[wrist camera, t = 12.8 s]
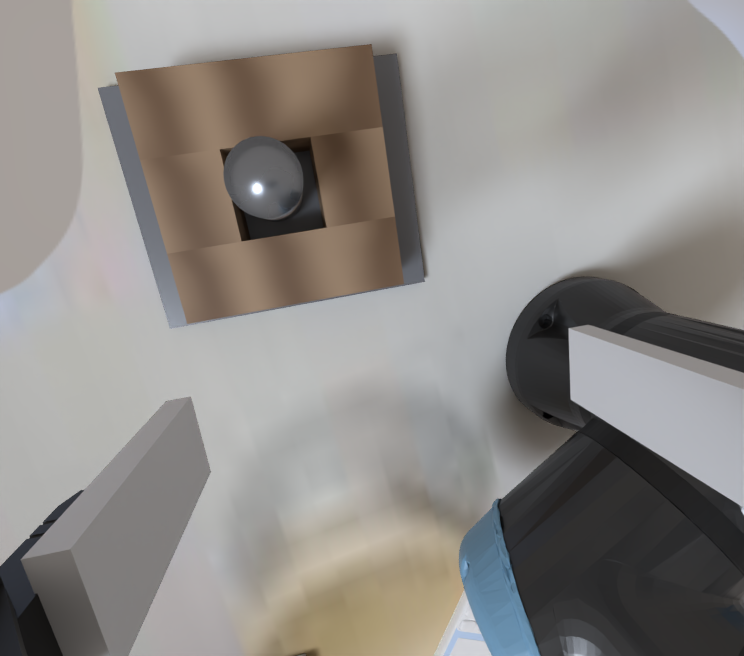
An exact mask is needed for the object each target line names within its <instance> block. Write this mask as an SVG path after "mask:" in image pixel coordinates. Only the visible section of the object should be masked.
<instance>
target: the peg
mask: <svg viewBox="0 0 744 656" xmlns="http://www.w3.org/2000/svg"><path fill="white" fill-rule="evenodd" d="M223 175H224V183H225V187H226V190H227V192H228V194H229V196H230V197H231V199H232V200H233V202H234V203H235V204H236V205H237V206H238V207H239V208H240V209H242V210H243V211H244V212H246V213H248V214H250V215H252V216H256V217H259V218H263V219H268V220H272V221H285V220H288V219H290V218H292V217H293V216H294V215H295V214H296V213H297V212H298V210H299V209H300V206H301V203H302V195H303V172H302V168H301V165H300V163H299V161H298V159H297V157H296V156H295V154H294V153H293V152H292V150H291V149H290V148H289V147H287V146H286V145H285V144H284V143H282V142H280V141H278V140H276V139H274V138H271V137H266V136H254V137H249V138H247V139H244V140H242V141H241V142H239V143H238V144H237V145H235V146H234V147H233V148H232V150H231V151H230V152H229V154H228V156H227V158H226V161H225V165H224V172H223Z"/></svg>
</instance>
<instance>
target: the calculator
mask: <svg viewBox="0 0 744 656" xmlns="http://www.w3.org/2000/svg"><path fill="white" fill-rule="evenodd" d="M434 656H492V655H491V653H490V651H489V649H488V647H487V645H486V643H485V641H484V638H483V636H482V634H481V632H480V630H479V627H478V625H477V623H476V620H475V618H474V616H473V613H472V610H471V608H470V605H469V602H468V599H467V596H466V593H465V590H464V592H463V594H462V596H461V598H460V600H459V602H458V604H457V606H456V609H455V611H454V613H453V615H452V617H451V619H450V621H449V624H448V626H447V628H446V630H445V632H444V634H443V636H442V639H441V641H440V643H439V645H438V647H437V649H436V651H435V653H434Z"/></svg>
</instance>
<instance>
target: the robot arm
mask: <svg viewBox="0 0 744 656" xmlns="http://www.w3.org/2000/svg"><path fill="white" fill-rule="evenodd" d="M506 369H507V375H508V379H509V382H510V385H511V387H512V389H513V391H514V393H515V395H516V396H517V397H518V399H519V400H520V401H521V402H522V403H523V404H524V405H525V406H526V407H527V408H529V409H530V410H531V411H532V412H534V413H535V414H536V415H537V416H539V417H540V418H542V419H543V420H545V421H547V422H549V423H551V424H554V425H557V426H561V427H564V428H568V429H572V430H576V431H578V432H576V433H575V434H574V435H573V436H572V437H571V438H570V439H569V440H567V441H566V442H565V443H564V444H563V445H562V446H561V447H560V448H559V449H557V450H556V451H555V452H554V453H553V454H552V455H551V456H550V457H548V458H547V459H546V460H545V461H544V462H543V463H542V464H541V465H540V466H538V467H537V468H536V469H535V470H534V471H533V472H532V473H531V474H529V475H528V476H527V477H526V478H525V479H524V480H523V481H522V482H521V483H519V484H518V485H517V486H516V487H515V488H514V489H513V490H512V491H510V492H509V493H508V494H507V495H506V496H505V497H504V498H503V499H496V500H495V501H494V503H493V505H492V508H491V509H490V510H489V511H488V512H487V513H486V514H485V515H484V516H483V517H482V518H481V519H480V520H479V521H478V522H477V523H476V524H475V525H474V526H473V527H472V528H471V529H470V530H469V531H468V533H467V534H466V535H465V536H464V538H463V540H462V543H461V546H460V550H459V567H460V574H461V578H462V582H463V585H464V590H465V593H466V596H467V599H468V602H469V605H470V608H471V610H472V613H473V616H474V618H475V620H476V623H477V625H478V627H479V630H480V632H481V634H482V636H483V638H484V641H485V643H486V645H487V647H488V649H489V651H490V653H491V655H492V656H744V330H741V329H736V328H732V327H728V326H723V325H719V324H714V323H710V322H706V321H701V320H697V319H692V318H688V317H683V316H678V315H674V314H670V313H666V312H665V311H664V310H662V309H661V308H659V307H658V306H656V305H655V304H654V303H652V302H651V301H649V300H648V299H646V298H644V297H643V296H641V295H640V294H639V293H638V292H636V291H635V290H634V289H632V288H630V287H629V286H627V285H624V284H622V283H619V282H616V281H612V280H607V279H601V278H595V277H577V278H571V279H567V280H564V281H561V282H559V283H557V284H555V285H552V286H551V287H549V288H547V289H546V290H544V291H543V292H542V293H540V294H539V295H538V296H537V297H535V298H534V299H533V300H532V301H531V302H530V303H529V304H528V306H527V307H526V308H525V309H524V310H523V312H522V313H521V315H520V316H519V318H518V320H517V321H516V323H515V325H514V327H513V330H512V332H511V335H510V338H509V341H508V346H507V352H506ZM210 472H211V471H210V467H209V463H208V459H207V456H206V452H205V448H204V444H203V441H202V437H201V433H200V429H199V425H198V422H197V418H196V414H195V410H194V407H193V403H192V399H191V397H186V398H181V399H175V400H170V401H166V402H165V403H164V404H163V405H162V406H161V407H160V409H159V410H158V411H157V412H156V413H155V414H154V415H153V416H152V417H151V418H150V419H149V421H148V422H147V423H146V424H145V425H144V426H143V427H142V428H141V429H140V430H139V431H138V432H137V434H136V435H135V436H134V437H133V438H132V439H131V440H130V441H129V442H128V443H127V444H126V446H125V447H124V448H123V449H122V450H121V451H120V452H119V453H118V454H117V455H116V456H115V458H114V459H113V460H112V461H111V462H110V463H109V464H108V465H107V466H106V467H105V468H104V469H103V471H102V472H101V473H100V474H99V475H98V476H97V477H96V478H95V479H94V480H93V481H92V483H91V484H90V485H89V486H88V487H87V488H86V489H85V490H81V491H79V492H78V493H76V494H75V495H73V496H72V497H71V498H69V499H68V500H66V501H65V502H63V503H62V504H61V505H59V506H58V507H57V508H56V509H55V510H54V511H53V512H52V513H51V514H50V515H49V516H48V517H47V518H46V519H45V520H44V522H43V525H40V526H39V527H38V528H37V529H36V530H35V531H34V532H33V533H32V534H31V535H30V539H26V540H25V541H24V542H23V543H22V544H21V545H20V546H19V547H18V549H17V550H16V551H15V552H14V553H13V554H12V555H11V556H10V557H9V558H8V559H7V560H6V561H5V562H4V563H3V564H2V565H1V566H0V656H128V655H129V653H130V651H131V648H132V646H133V644H134V642H135V640H136V637H137V635H138V633H139V631H140V628H141V626H142V624H143V622H144V619H145V617H146V615H147V613H148V611H149V608H150V606H151V604H152V602H153V599H154V597H155V595H156V593H157V590H158V588H159V586H160V584H161V582H162V579H163V577H164V575H165V573H166V570H167V568H168V566H169V564H170V561H171V559H172V557H173V555H174V553H175V550H176V548H177V546H178V544H179V541H180V539H181V537H182V535H183V532H184V530H185V528H186V526H187V524H188V521H189V519H190V517H191V515H192V512H193V510H194V508H195V506H196V504H197V501H198V499H199V497H200V495H201V492H202V490H203V488H204V486H205V483H206V481H207V479H208V477H209V475H210Z"/></svg>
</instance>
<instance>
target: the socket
mask: <svg viewBox="0 0 744 656" xmlns="http://www.w3.org/2000/svg"><path fill="white" fill-rule="evenodd" d="M115 75H116V78H117V82H118V85H119V86H110V87H101V88H98V91H99V94H100V97H101V101H102V104H103V107H104V111H105V114H106V117H107V121H108V124H109V127H110V131H111V134H112V137H113V141H114V144H115V147H116V150H117V154H118V157H119V160H120V164H121V167H122V170H123V174H124V177H125V180H126V184H127V187H128V190H129V194H130V197H131V200H132V204H133V207H134V210H135V214H136V217H137V220H138V224H139V227H140V230H141V234H142V237H143V240H144V244H145V247H146V250H147V254H148V257H149V260H150V264H151V267H152V270H153V273H154V277H155V280H156V283H157V287H158V290H159V293H160V297H161V300H162V303H163V307H164V310H165V313H166V317H167V320H168V323H169V327H170V329H171V328H177V327H182V326H188V325H193V324H198V323H204V322H209V321H215V320H220V319H225V318H231V317H236V316H242V315H247V314H252V313H258V312H263V311H269V310H274V309H279V308H285V307H290V306H296V305H301V304H307V303H312V302H317V301H323V300H328V299H334V298H339V297H344V296H350V295H355V294H361V293H366V292H371V291H377V290H382V289H388V288H393V287H398V286H404V285H409V284H415V283H420V282H425V280H424V271H423V263H422V255H421V247H420V239H419V231H418V223H417V214H416V206H415V198H414V190H413V182H412V174H411V166H410V157H409V149H408V141H407V133H406V125H405V117H404V109H403V100H402V92H401V84H400V76H399V68H398V60H397V54H389V55H380V56H373V52H372V45H371V44H369V45H360V46H351V47H342V48H333V49H324V50H315V51H306V52H297V53H288V54H279V55H270V56H261V57H252V58H243V59H234V60H225V61H216V62H207V63H198V64H189V65H180V66H171V67H162V68H153V69H144V70H135V71H126V72H117V73H115ZM254 136H266V137H271V138H274V139H276V140H278V141H280V142H282V143H284V144H285V145H286V146H287V147H289V148H290V149H291V150H292V152H293V153H294V154H295V156H296V157H297V159H298V161H299V163H300V165H301V168H302V172H303V195H302V203H301V206H300V209H299V210H298V212H297V213H296V214H295V215H294V216H293V217H292V218H290V219H288V220H285V221H272V220H268V219H263V218H259V217H256V216H252V215H250V214H248V213H246V212H244V211H243V210H242V209H240V208H239V207H238V206H237V205H236V204H235V203H234V202H233V200H232V199H231V197H230V196H229V194H228V192H227V190H226V187H225V183H224V175H223V172H224V165H225V161H226V158H227V156H228V154H229V152H230V151H231V150H232V148H233V147H234V146H235V145H237V144H238V143H239V142H241V141H242V140H244V139H247V138H249V137H254Z"/></svg>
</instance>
